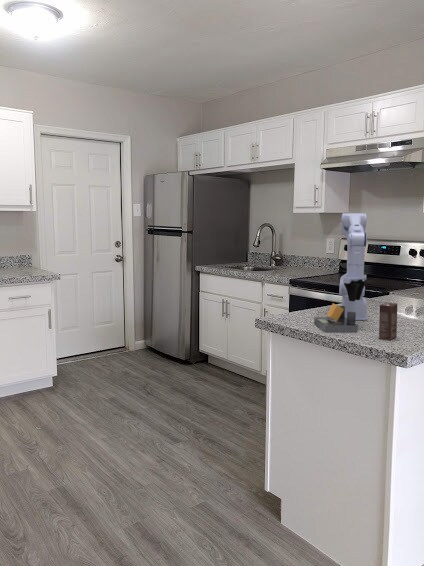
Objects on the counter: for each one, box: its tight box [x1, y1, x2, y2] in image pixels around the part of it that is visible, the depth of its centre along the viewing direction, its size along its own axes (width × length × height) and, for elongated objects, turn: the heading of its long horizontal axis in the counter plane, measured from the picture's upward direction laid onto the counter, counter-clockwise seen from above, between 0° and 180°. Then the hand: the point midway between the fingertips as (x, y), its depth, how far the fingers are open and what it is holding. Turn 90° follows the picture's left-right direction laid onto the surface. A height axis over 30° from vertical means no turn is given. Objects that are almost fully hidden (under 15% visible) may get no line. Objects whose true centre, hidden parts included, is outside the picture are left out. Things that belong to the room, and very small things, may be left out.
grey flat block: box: [313, 316, 359, 334], centre depth 184 cm, size 12×15×3 cm
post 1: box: [338, 305, 345, 319], centre depth 190 cm, size 3×3×4 cm
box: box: [378, 302, 398, 341], centre depth 168 cm, size 6×4×12 cm
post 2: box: [347, 312, 357, 326], centre depth 178 cm, size 3×3×4 cm
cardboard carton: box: [326, 302, 344, 322], centre depth 183 cm, size 3×6×6 cm, turn 4°
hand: (354, 300), depth 183 cm, fingers open, 3 cm apart
